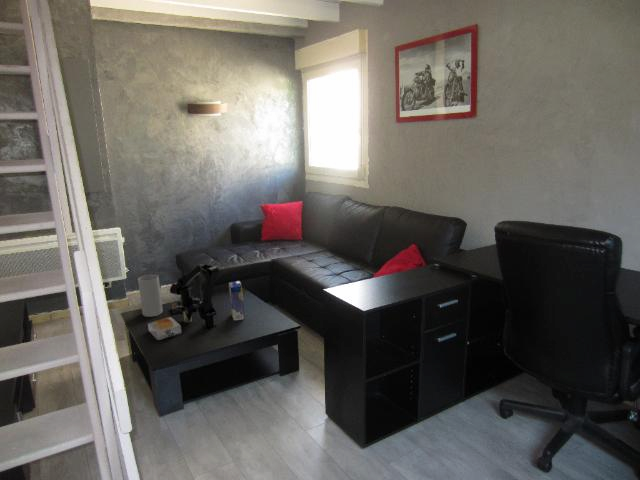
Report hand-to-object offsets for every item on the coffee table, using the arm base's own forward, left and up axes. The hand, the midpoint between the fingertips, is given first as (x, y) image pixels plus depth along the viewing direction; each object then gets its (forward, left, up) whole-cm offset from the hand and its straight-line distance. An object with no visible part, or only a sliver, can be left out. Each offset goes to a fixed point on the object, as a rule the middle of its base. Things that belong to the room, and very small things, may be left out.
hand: (188, 319), depth 283 cm
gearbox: (-8, +17, -1) cm, 19 cm away
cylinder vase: (+28, +13, -2) cm, 31 cm away
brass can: (0, 0, -1) cm, 1 cm away
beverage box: (-15, -27, -2) cm, 31 cm away
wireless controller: (+20, -8, -2) cm, 22 cm away
